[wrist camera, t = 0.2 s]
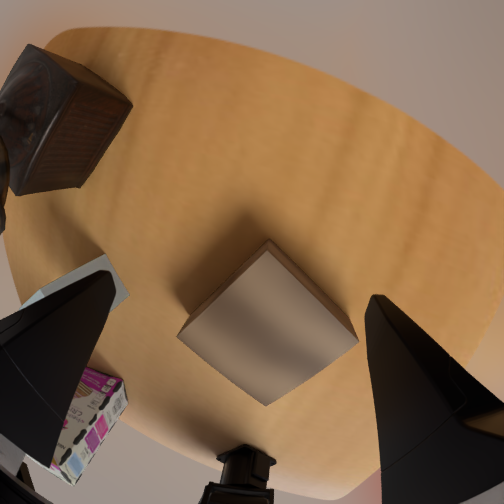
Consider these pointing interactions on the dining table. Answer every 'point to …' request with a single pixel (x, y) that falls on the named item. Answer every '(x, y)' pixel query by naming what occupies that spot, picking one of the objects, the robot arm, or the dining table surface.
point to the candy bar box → (87, 423)
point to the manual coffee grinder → (54, 124)
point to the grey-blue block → (78, 274)
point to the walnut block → (268, 327)
